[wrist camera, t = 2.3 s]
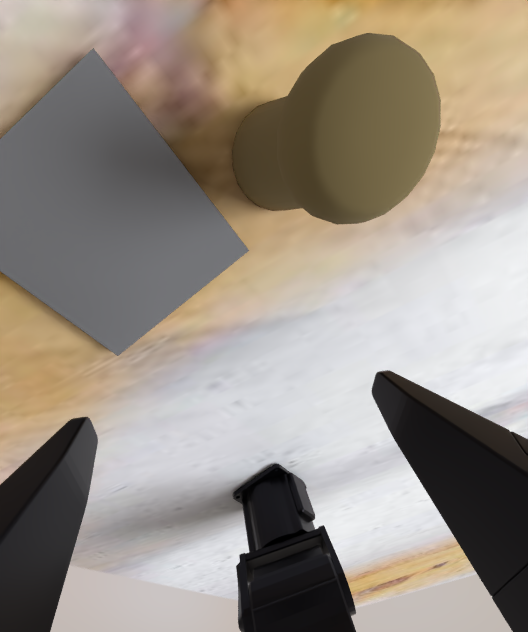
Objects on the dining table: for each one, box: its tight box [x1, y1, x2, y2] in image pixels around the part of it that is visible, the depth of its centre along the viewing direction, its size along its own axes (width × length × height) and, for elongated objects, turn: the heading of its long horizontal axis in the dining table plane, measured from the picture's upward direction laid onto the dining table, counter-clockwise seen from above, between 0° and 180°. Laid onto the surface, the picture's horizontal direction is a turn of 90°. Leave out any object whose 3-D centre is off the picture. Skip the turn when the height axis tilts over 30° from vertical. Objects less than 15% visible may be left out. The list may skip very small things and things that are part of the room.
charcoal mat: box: [0, 48, 249, 356], centre depth 17 cm, size 12×12×1 cm
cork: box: [232, 33, 441, 224], centre depth 13 cm, size 6×6×11 cm
